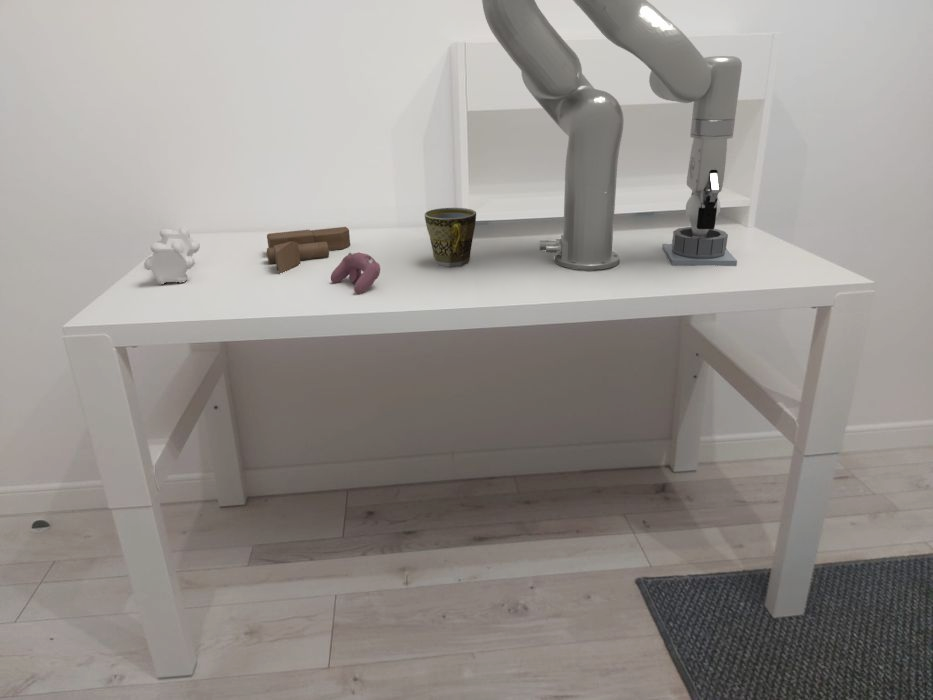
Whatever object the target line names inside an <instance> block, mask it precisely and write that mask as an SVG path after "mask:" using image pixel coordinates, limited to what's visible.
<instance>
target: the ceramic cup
mask: <svg viewBox="0 0 933 700" xmlns="http://www.w3.org/2000/svg"><path fill="white" fill-rule="evenodd" d="M476 220H477V212H476V211H475V210H473V209H470V208H465V207H440V208H435V209H431V210H428V211H426V212H425V213H424V221H425V224H426V229H427V232H428V235H429V240H430V244H431V251H432V254H433V259H434V262H435V263H436V266H438V267H440V268H442V267H443V268H449V269H453V268H462V267H464V266H466V265H468V264H469V263H470V259H471V251H472V246H473V239H474V238H473V237H474V234H475V227H476V222H477V221H476Z"/></svg>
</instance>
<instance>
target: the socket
mask: <svg viewBox="0 0 933 700" xmlns="http://www.w3.org/2000/svg"><path fill="white" fill-rule="evenodd" d="M692 234H693V232H692V228H691V226H690V227H689V226H687V227H680V228H676V229H674V230H673V232H672V241H671V242H672V243H662V246H661V250H662V252H663V253H664V255H665V256H666V258H667V260H668V259H669V260H668V262H669V261H670V262H669V263H670V265H671V266H695V265H715V266H714V267H716V265H717V267H719V266H718V265H720V266H721V265H722V266H721V267H724V266H725V267H727V266H728V267H737V265H738V260H737V259H736V258H735V257H734V256H733V254H732V253H731V252H730V251H729V250H728V248H727V243H728V237H729V236H728V233H727V232H726V231H724V230H721V229H718V228H714V229H709V231H708V233H707V237H706V238H696V237H692V236H693V235H692Z"/></svg>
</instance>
